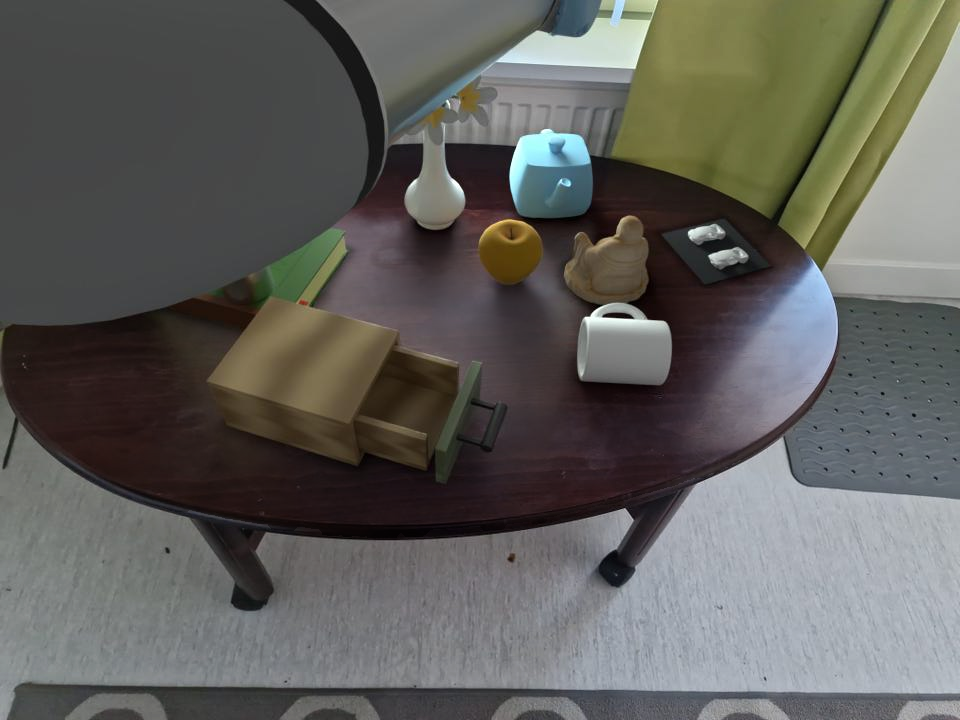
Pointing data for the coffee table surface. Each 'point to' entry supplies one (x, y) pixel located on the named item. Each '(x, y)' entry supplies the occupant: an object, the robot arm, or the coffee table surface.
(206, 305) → the book
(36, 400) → the coffee table surface
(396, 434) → the drawer
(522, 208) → the teapot
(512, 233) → the apple
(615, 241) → the statue
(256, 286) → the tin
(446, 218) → the flower vase
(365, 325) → the cabinet
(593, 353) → the mug
